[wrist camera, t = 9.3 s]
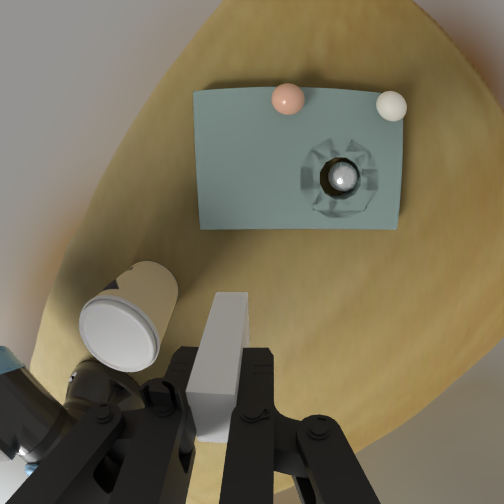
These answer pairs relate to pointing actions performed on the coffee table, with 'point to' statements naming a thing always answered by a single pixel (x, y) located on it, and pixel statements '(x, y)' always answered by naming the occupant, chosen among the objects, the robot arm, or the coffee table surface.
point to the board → (294, 160)
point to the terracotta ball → (288, 99)
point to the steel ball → (343, 176)
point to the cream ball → (391, 106)
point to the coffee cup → (130, 317)
